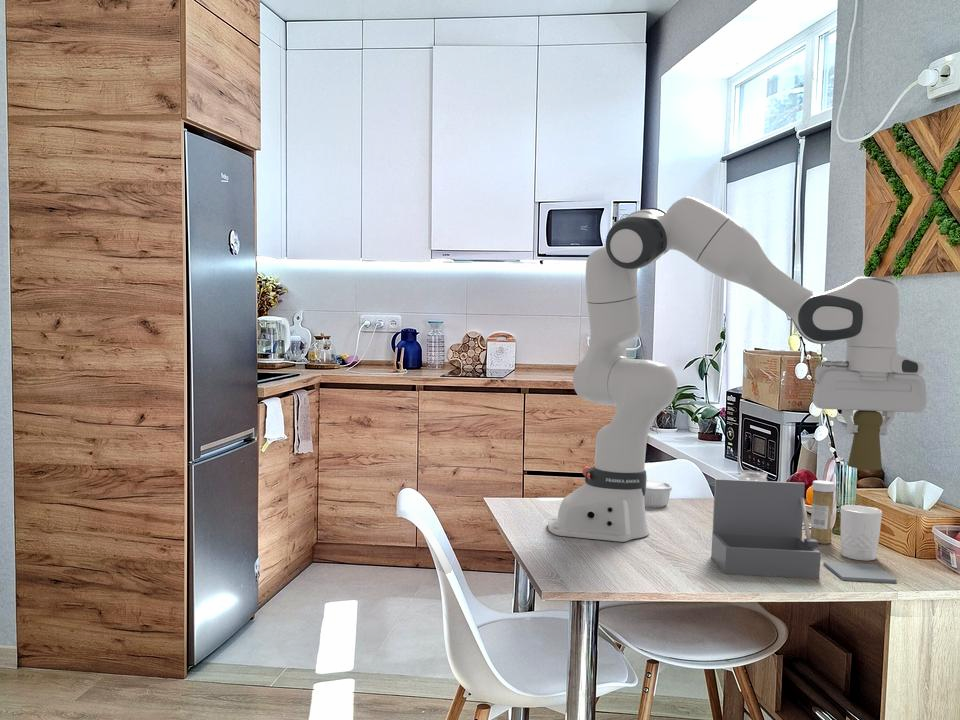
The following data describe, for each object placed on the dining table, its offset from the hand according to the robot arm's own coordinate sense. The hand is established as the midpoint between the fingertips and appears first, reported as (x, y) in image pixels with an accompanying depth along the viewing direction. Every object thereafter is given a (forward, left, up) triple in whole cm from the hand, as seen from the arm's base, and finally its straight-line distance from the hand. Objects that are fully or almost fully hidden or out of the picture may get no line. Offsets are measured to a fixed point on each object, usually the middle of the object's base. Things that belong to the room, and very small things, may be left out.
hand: (866, 434), depth 162 cm
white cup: (+5, +13, -27) cm, 31 cm away
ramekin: (-32, +56, -28) cm, 70 cm away
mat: (0, 0, -27) cm, 27 cm away
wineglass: (-10, +40, -27) cm, 50 cm away
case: (-18, +1, -27) cm, 33 cm away
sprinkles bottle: (+1, +24, -27) cm, 37 cm away
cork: (0, 0, -7) cm, 7 cm away
